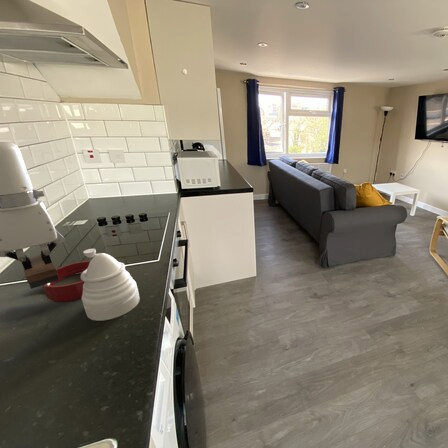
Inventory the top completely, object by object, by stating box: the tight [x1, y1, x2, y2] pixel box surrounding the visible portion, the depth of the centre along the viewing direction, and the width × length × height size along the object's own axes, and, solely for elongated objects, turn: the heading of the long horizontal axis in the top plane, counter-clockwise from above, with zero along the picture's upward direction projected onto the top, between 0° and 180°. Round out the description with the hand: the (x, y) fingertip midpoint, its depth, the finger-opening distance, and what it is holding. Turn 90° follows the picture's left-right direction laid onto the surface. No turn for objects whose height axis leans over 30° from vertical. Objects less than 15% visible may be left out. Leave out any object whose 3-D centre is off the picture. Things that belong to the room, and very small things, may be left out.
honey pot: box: [79, 248, 141, 321], centre depth 72 cm, size 13×13×18 cm
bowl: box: [42, 260, 91, 303], centre depth 82 cm, size 15×15×6 cm
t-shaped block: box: [23, 254, 59, 290], centre depth 63 cm, size 11×5×3 cm, turn 48°
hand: (40, 270), depth 65 cm, fingers closed on t-shaped block, 2 cm apart
